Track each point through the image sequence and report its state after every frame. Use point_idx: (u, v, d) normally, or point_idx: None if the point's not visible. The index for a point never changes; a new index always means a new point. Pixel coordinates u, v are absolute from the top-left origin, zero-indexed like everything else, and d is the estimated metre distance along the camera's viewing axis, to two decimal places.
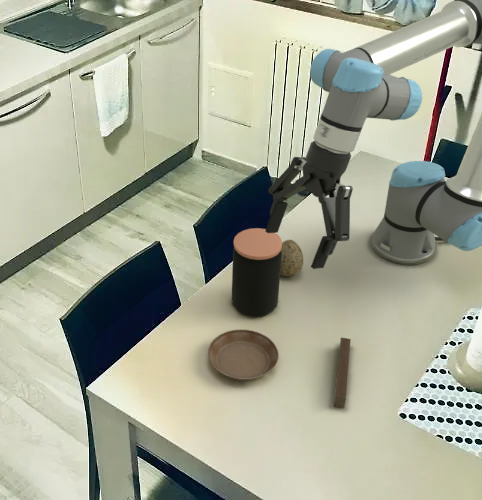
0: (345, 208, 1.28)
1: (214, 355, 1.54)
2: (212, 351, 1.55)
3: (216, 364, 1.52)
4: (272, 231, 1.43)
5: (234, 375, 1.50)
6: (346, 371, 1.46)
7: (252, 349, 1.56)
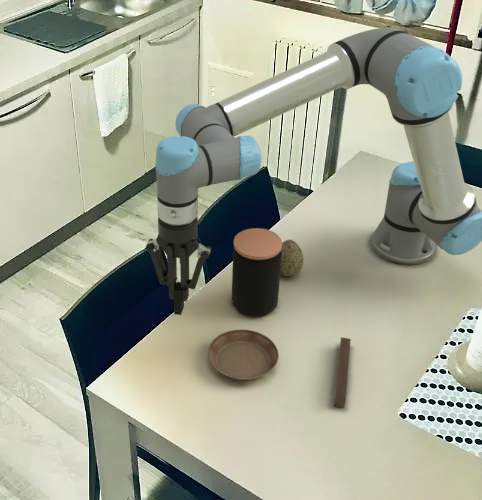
0: None
1: (214, 355, 1.54)
2: (212, 351, 1.55)
3: (216, 364, 1.52)
4: None
5: (234, 375, 1.50)
6: (346, 371, 1.46)
7: (252, 349, 1.56)
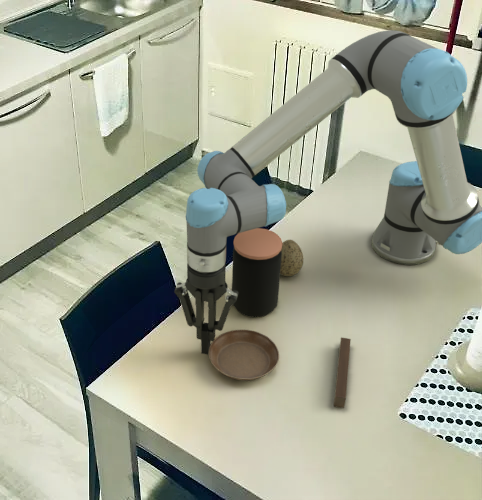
0: None
1: (214, 355, 1.54)
2: (212, 351, 1.54)
3: (216, 364, 1.52)
4: None
5: (234, 375, 1.50)
6: (346, 371, 1.46)
7: (252, 349, 1.56)
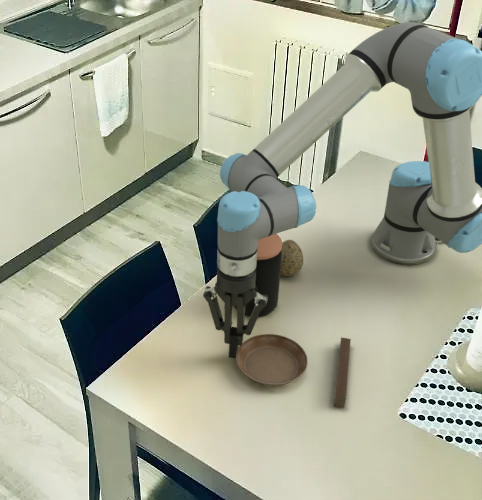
0: None
1: (242, 359, 1.53)
2: (240, 356, 1.53)
3: (244, 369, 1.51)
4: None
5: (262, 380, 1.49)
6: (346, 371, 1.46)
7: (280, 354, 1.54)
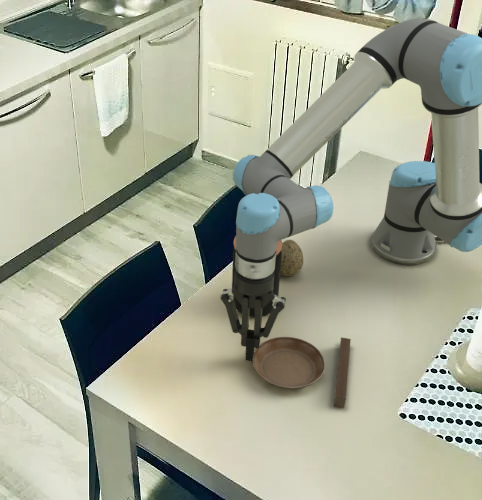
0: None
1: (258, 362, 1.52)
2: (256, 358, 1.52)
3: (261, 372, 1.50)
4: None
5: (279, 384, 1.48)
6: (346, 371, 1.46)
7: (297, 357, 1.53)
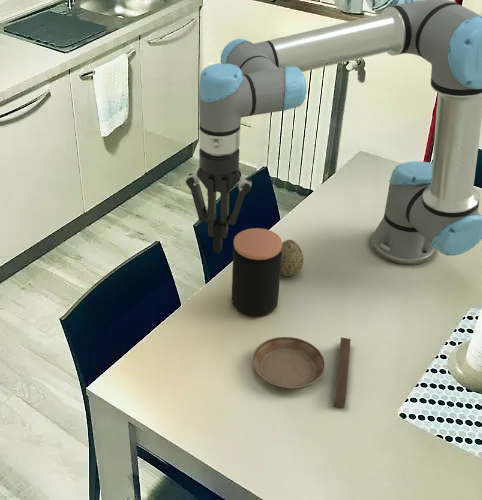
0: None
1: (258, 362, 1.52)
2: (256, 359, 1.52)
3: (261, 372, 1.50)
4: None
5: (279, 384, 1.48)
6: (346, 371, 1.46)
7: (297, 357, 1.53)
